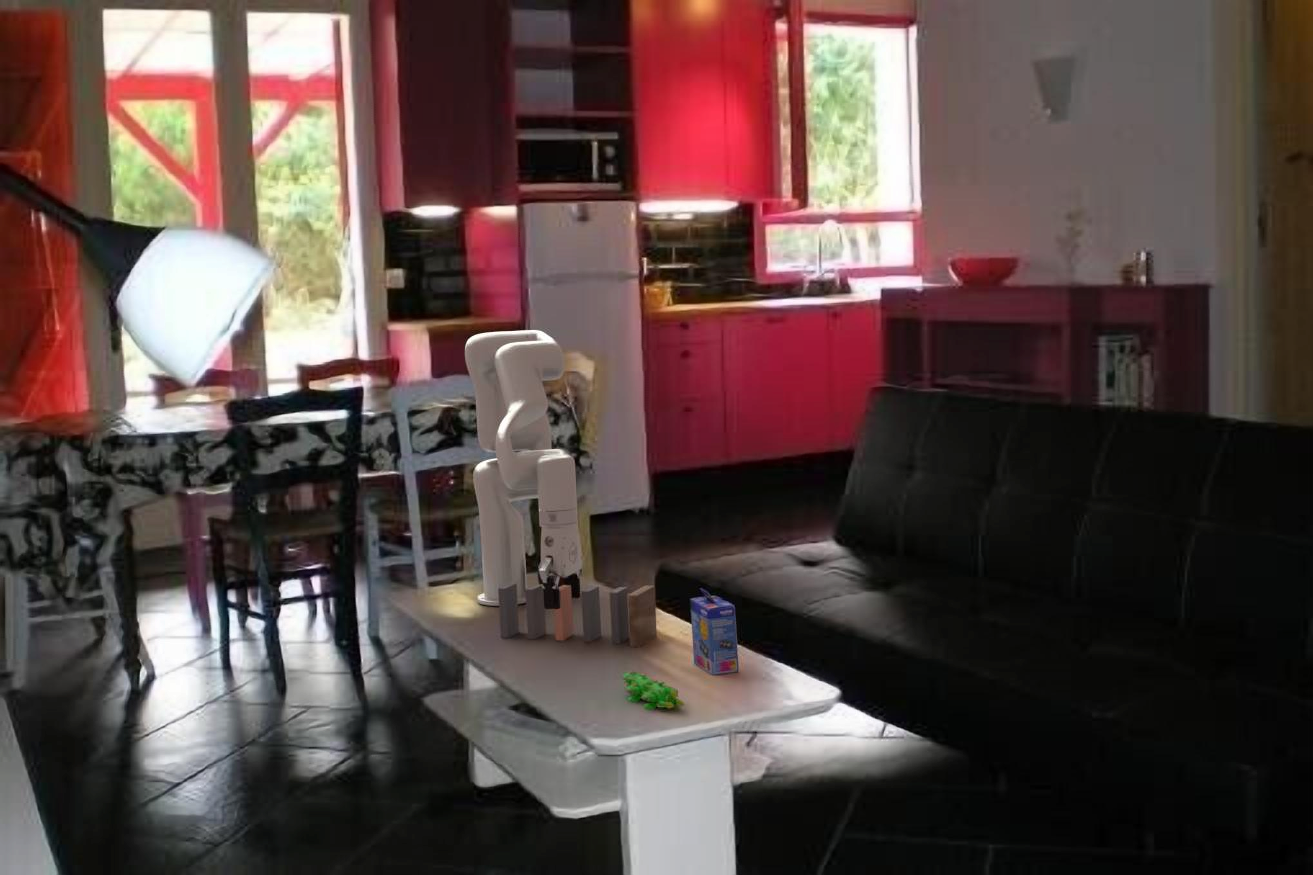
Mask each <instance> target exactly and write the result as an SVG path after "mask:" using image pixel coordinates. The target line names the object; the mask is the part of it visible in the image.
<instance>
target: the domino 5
mask: <svg viewBox="0 0 1313 875" xmlns="http://www.w3.org/2000/svg"><path fill="white" fill-rule="evenodd" d="M609 606H610V607H609V608H610V628H611V629H610V630H611V643H612V644H621V643H624V641H626V640H628V639H630V630H629V609H628V587H627V586H619V587H617V588H615V589H612V591H610V592H609Z"/></svg>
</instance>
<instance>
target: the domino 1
mask: <svg viewBox="0 0 1313 875" xmlns="http://www.w3.org/2000/svg"><path fill="white" fill-rule="evenodd" d="M498 595H499V606H498V608H499V609H498V612H499V626H500V638H501V639H509V638H511V637H513V636H515V635H516V634H517V635H518V633H520V624H519V620H520V619H519V609H518V608H519V604H518V602H517V585H516V583H509V584H506V585H504V586H502V587H500V588H498Z"/></svg>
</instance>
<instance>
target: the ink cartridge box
mask: <svg viewBox="0 0 1313 875" xmlns="http://www.w3.org/2000/svg"><path fill="white" fill-rule="evenodd" d="M699 589H700V592H701V593H702V594H703V596H698V597H692V598H689V602H690V603H689V604H690V616H691V617H690V618H691V635H692V650H693V651H692V652H693V654H692V655H693V663H694V664H695V665H697V666H698V667H699V668H701V669H703V670H704V671H706V672H707V673H708V674H709V675H711V676H716V675H722V674H730V673H731V674H733V673H738V672H739V671H740V665H739V664H740V661H739V652H738V650H739V648H738V639H737V638H738V636H737V624H736V623H737V621H736V620H737V619H736V608H735V605H734V604H733V603H731V602H730V601H727V600H724V599H723V598H722V597H719V596H717V595H711V594H710V593H709V591H707V590H705V589H703V588H699Z"/></svg>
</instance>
